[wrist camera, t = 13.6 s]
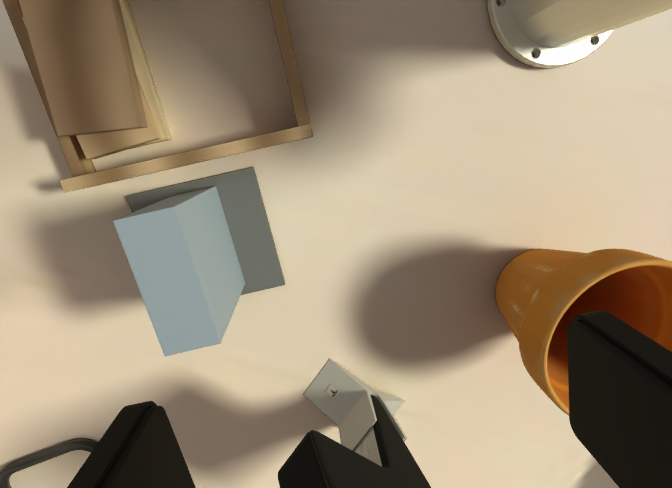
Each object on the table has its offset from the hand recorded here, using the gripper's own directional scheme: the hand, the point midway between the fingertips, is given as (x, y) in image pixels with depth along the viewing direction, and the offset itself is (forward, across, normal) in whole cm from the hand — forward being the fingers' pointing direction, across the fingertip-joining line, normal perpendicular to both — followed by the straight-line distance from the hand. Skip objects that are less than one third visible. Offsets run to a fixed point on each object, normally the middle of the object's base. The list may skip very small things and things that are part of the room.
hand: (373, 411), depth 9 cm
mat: (+30, +12, +2) cm, 32 cm away
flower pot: (+31, -20, +14) cm, 39 cm away
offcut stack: (+30, +17, -14) cm, 37 cm away
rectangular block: (+29, +12, +2) cm, 32 cm away
